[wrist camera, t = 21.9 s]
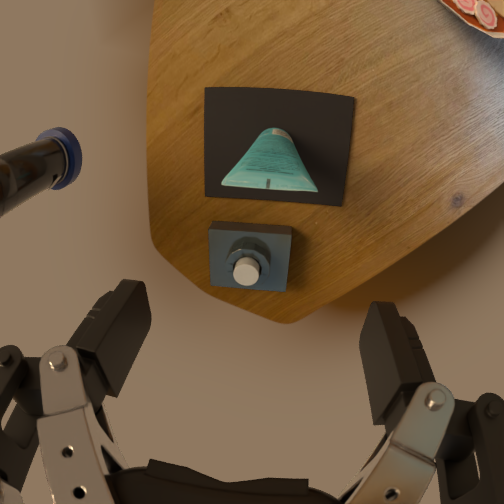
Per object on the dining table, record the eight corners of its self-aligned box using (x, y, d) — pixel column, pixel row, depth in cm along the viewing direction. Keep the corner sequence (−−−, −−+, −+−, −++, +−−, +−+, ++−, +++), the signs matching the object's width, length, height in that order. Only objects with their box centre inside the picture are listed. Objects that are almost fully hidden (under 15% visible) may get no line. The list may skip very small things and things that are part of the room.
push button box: (214, 275, 51) (207, 292, 47) (212, 220, 47) (205, 235, 42) (285, 281, 51) (285, 299, 46) (291, 226, 46) (292, 241, 41)
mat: (205, 195, 45) (204, 196, 44) (205, 87, 37) (204, 87, 36) (341, 205, 43) (341, 206, 43) (353, 97, 35) (354, 97, 35)
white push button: (235, 276, 46) (233, 284, 44) (235, 255, 44) (233, 263, 42) (259, 278, 45) (258, 286, 44) (260, 257, 44) (259, 265, 42)
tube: (248, 162, 41) (223, 214, 24) (247, 128, 39) (218, 155, 22) (302, 162, 40) (317, 214, 24) (302, 127, 38) (318, 154, 21)
